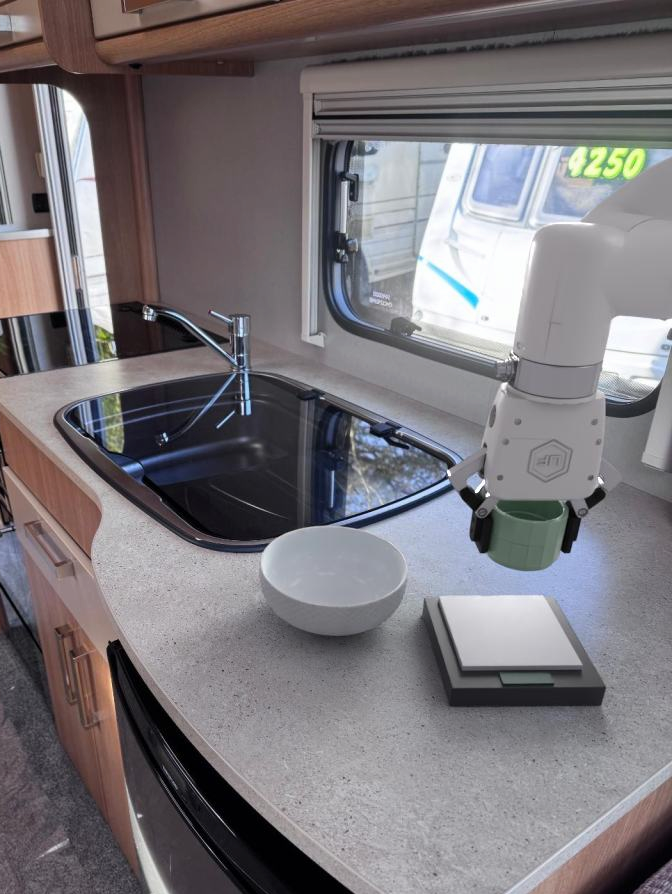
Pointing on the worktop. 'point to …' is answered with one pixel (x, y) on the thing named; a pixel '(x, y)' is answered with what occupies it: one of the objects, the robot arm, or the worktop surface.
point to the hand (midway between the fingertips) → (520, 545)
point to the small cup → (527, 533)
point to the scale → (509, 652)
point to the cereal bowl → (333, 579)
